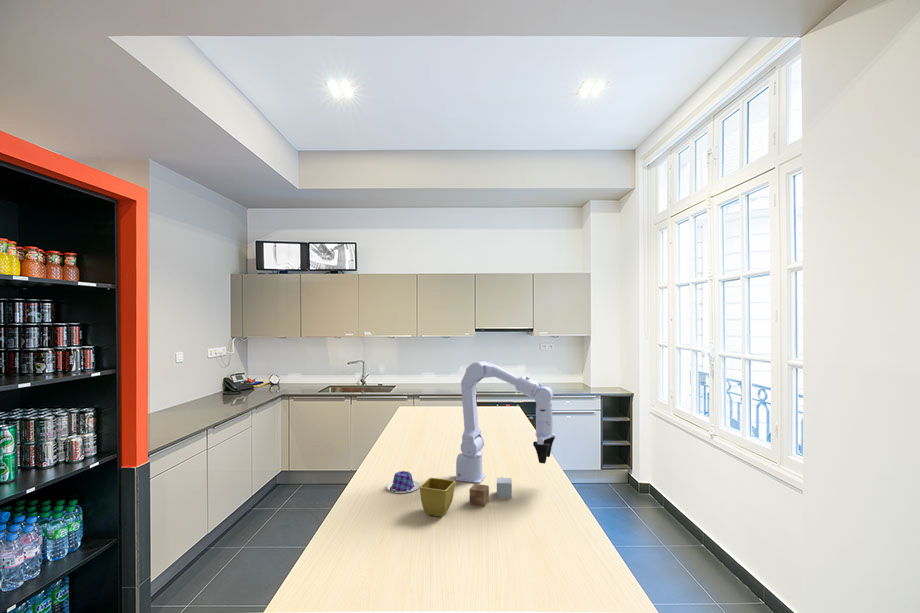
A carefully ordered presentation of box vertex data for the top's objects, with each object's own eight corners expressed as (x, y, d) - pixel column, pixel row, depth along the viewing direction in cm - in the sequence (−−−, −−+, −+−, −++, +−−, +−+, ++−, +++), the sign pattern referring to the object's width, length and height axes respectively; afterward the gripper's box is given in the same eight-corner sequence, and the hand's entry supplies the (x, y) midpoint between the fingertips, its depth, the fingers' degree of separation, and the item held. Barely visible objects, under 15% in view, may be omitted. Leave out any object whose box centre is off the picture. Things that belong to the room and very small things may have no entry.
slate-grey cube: (496, 498, 149) (496, 483, 149) (496, 492, 154) (496, 477, 154) (511, 498, 148) (511, 483, 148) (511, 492, 153) (511, 478, 153)
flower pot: (455, 509, 140) (455, 480, 141) (446, 521, 132) (445, 490, 132) (430, 505, 143) (430, 477, 144) (419, 517, 135) (418, 487, 135)
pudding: (426, 487, 159) (426, 472, 159) (400, 497, 150) (400, 482, 150) (405, 479, 167) (405, 465, 167) (379, 488, 159) (378, 473, 159)
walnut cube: (469, 505, 143) (469, 489, 143) (474, 499, 148) (474, 483, 148) (484, 507, 141) (484, 491, 142) (488, 501, 146) (488, 485, 146)
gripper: (551, 426, 149) (552, 467, 149) (559, 417, 162) (559, 454, 162) (530, 424, 151) (531, 465, 151) (539, 415, 165) (540, 452, 165)
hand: (544, 459), depth 157 cm, fingers open, 7 cm apart
